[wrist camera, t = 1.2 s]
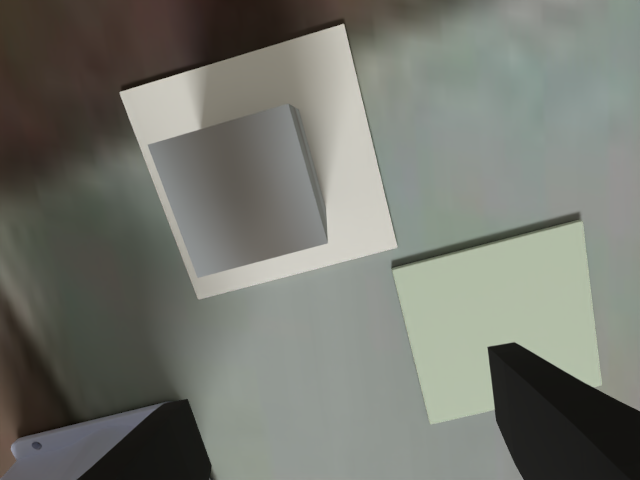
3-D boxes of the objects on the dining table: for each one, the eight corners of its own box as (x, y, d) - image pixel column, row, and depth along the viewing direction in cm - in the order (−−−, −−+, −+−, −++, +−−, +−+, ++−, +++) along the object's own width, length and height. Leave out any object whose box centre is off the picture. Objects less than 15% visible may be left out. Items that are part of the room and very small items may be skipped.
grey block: (233, 232, 20) (197, 278, 14) (200, 137, 19) (147, 144, 13) (326, 207, 20) (327, 243, 14) (298, 109, 19) (288, 103, 13)
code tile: (199, 298, 21) (198, 300, 21) (121, 92, 19) (119, 92, 18) (396, 246, 20) (397, 247, 20) (343, 24, 18) (343, 23, 18)
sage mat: (428, 420, 23) (430, 424, 23) (391, 268, 21) (392, 270, 20) (598, 381, 22) (601, 385, 22) (579, 219, 20) (582, 221, 20)
